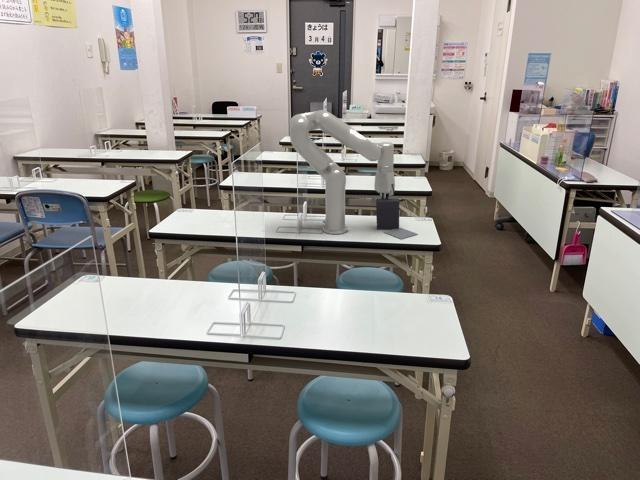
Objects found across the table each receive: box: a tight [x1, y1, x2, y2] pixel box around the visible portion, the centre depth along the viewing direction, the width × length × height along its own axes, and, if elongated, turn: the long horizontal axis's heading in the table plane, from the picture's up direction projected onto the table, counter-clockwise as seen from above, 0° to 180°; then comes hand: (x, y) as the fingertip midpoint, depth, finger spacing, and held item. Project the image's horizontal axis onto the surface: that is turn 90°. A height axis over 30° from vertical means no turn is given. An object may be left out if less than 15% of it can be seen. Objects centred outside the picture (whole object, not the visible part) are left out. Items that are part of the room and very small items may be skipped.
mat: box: [383, 227, 419, 241], centre depth 228 cm, size 12×11×1 cm
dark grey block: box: [375, 197, 400, 230], centre depth 233 cm, size 11×4×15 cm, turn 84°
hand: (384, 205), depth 235 cm, fingers closed
